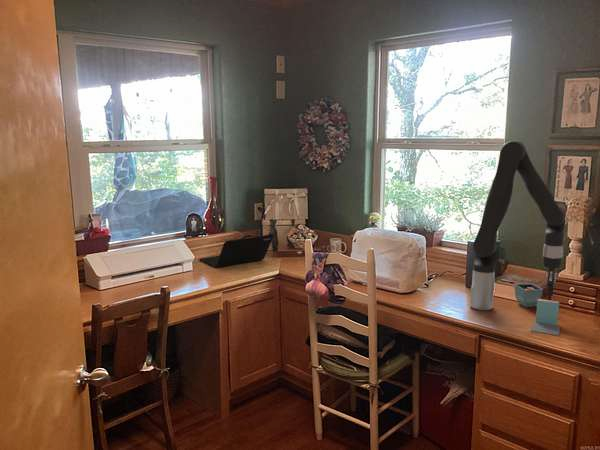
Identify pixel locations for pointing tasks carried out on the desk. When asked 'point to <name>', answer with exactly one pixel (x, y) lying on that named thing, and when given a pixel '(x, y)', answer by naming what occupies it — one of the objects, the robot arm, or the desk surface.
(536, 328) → the mat
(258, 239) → the laptop
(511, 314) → the desk surface
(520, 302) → the flower pot
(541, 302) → the tile
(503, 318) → the desk surface
